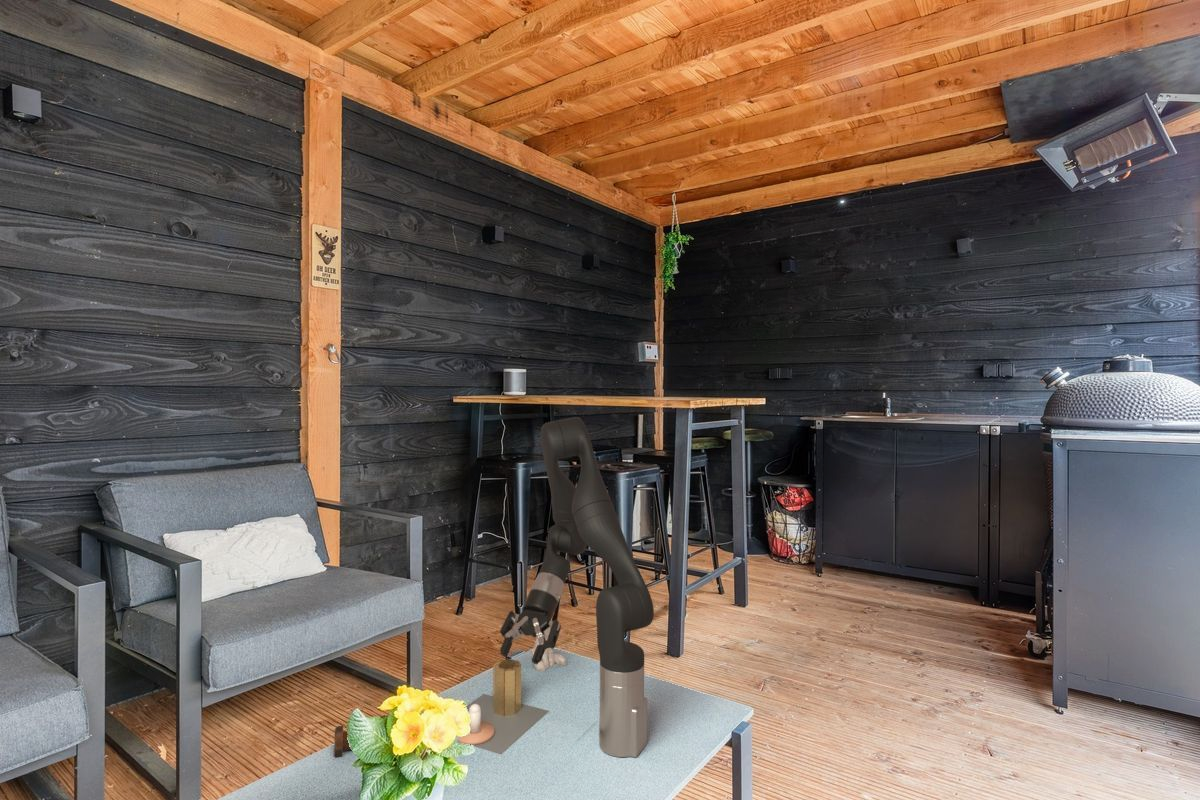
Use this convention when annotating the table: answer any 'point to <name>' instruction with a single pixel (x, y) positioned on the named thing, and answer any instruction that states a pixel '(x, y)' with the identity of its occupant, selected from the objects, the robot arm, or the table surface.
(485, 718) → the rod board
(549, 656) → the white creature statuette
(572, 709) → the table surface
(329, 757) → the table surface
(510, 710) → the sleeve
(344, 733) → the bolt
